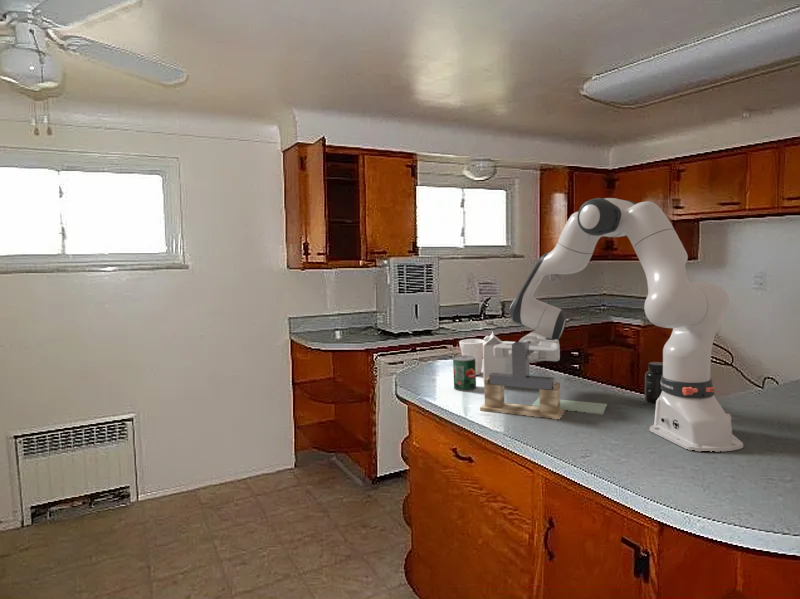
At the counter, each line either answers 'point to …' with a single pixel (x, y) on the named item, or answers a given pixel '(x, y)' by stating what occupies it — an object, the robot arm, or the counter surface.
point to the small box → (508, 362)
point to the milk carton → (491, 356)
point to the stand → (546, 409)
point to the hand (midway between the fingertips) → (519, 357)
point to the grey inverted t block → (521, 371)
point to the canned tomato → (464, 373)
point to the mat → (578, 406)
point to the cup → (473, 351)
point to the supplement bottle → (653, 382)
